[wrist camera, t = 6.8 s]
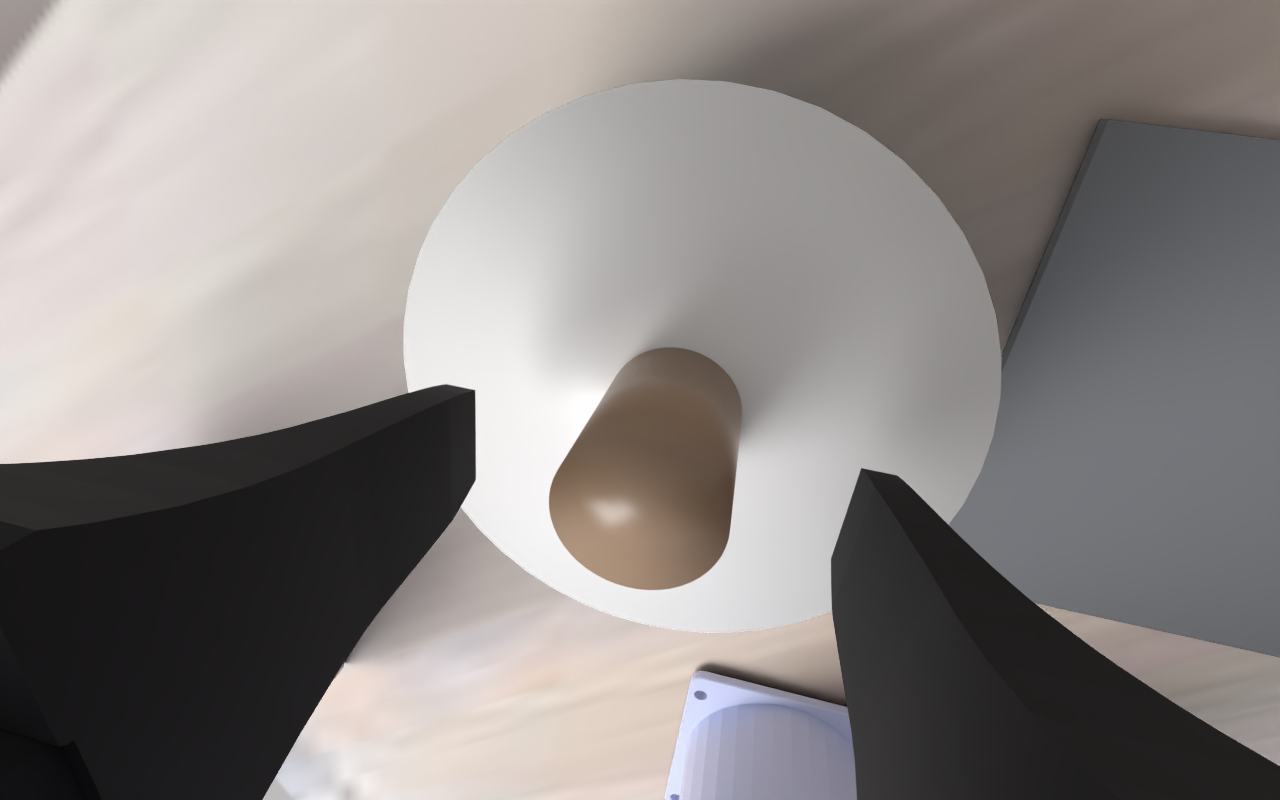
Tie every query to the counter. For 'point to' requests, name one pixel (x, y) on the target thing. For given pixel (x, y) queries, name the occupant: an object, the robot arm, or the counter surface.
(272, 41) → the counter surface
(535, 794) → the counter surface
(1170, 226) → the mat
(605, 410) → the lid
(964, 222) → the counter surface
